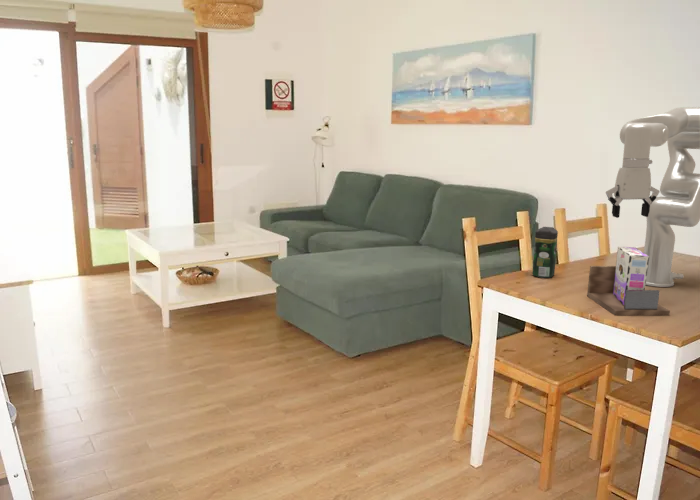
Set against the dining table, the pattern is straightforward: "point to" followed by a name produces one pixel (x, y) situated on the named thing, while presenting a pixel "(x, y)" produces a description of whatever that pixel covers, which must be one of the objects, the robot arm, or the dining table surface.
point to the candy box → (629, 271)
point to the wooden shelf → (603, 293)
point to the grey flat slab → (641, 299)
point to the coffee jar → (545, 252)
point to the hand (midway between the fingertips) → (630, 216)
